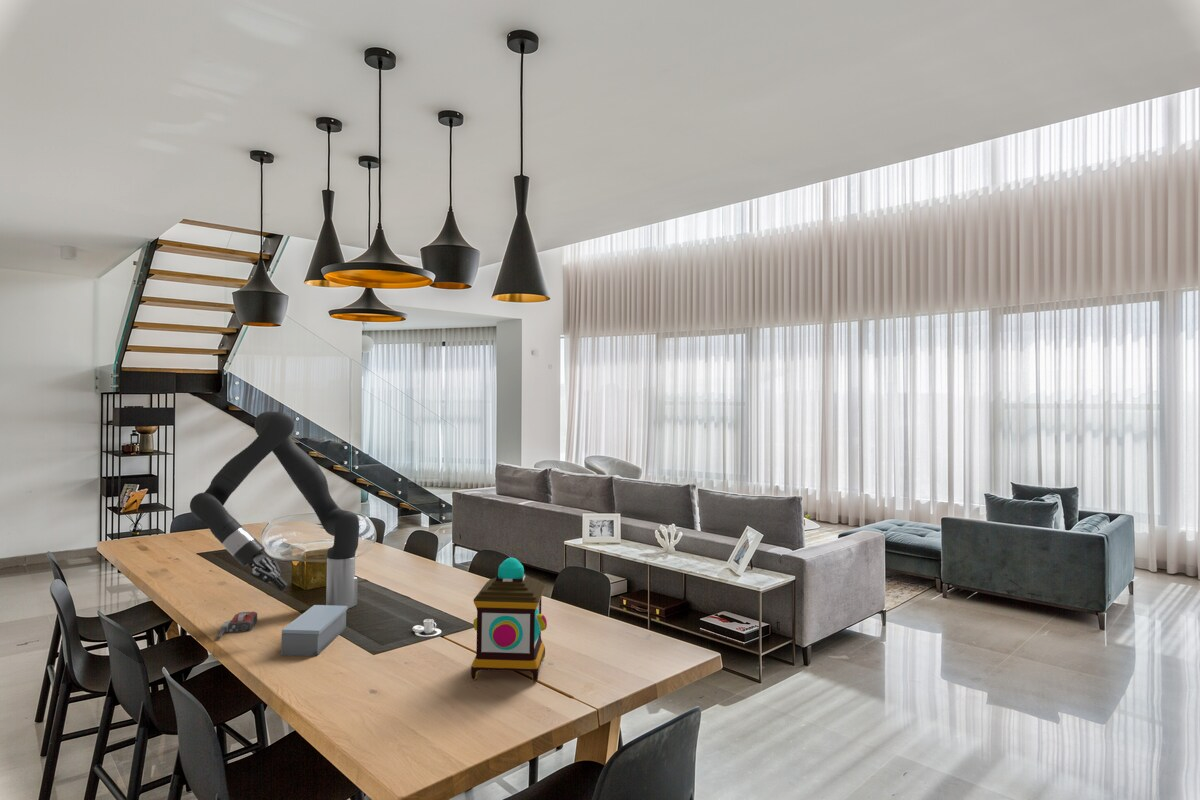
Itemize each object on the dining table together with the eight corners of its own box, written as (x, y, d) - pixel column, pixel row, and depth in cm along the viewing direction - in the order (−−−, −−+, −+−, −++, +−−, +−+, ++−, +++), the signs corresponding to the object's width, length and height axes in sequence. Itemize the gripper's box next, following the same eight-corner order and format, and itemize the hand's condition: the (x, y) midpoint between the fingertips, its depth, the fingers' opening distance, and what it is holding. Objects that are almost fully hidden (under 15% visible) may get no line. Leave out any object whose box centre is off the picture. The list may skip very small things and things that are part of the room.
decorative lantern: (480, 654, 198) (482, 549, 198) (549, 656, 197) (551, 550, 198) (464, 683, 178) (466, 565, 178) (541, 685, 177) (543, 567, 178)
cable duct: (281, 655, 195) (281, 634, 195) (313, 627, 219) (314, 608, 219) (317, 655, 195) (317, 634, 195) (345, 628, 219) (346, 609, 219)
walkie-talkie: (228, 621, 225) (214, 642, 205) (229, 608, 225) (214, 627, 205) (258, 619, 227) (247, 639, 208) (259, 606, 227) (247, 625, 208)
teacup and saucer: (408, 633, 217) (408, 619, 217) (430, 627, 223) (430, 614, 223) (424, 639, 211) (424, 626, 211) (446, 633, 217) (446, 620, 217)
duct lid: (281, 633, 195) (281, 629, 195) (314, 608, 219) (314, 604, 219) (319, 634, 195) (319, 630, 195) (347, 609, 219) (347, 605, 219)
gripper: (242, 542, 200) (284, 585, 200) (262, 533, 213) (302, 574, 213) (222, 560, 199) (265, 603, 200) (244, 550, 213) (284, 591, 213)
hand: (284, 588), depth 207 cm, fingers closed
